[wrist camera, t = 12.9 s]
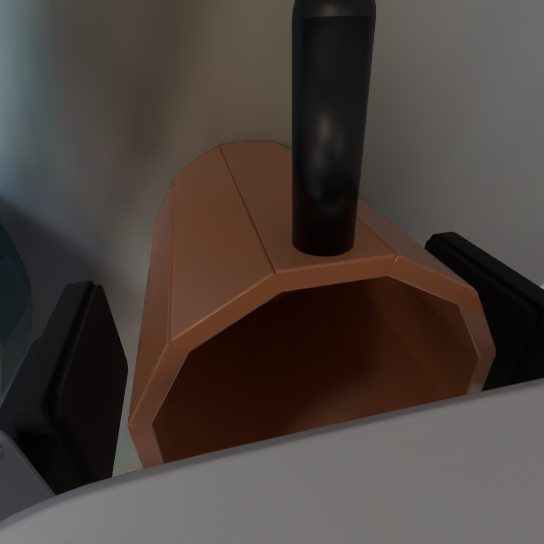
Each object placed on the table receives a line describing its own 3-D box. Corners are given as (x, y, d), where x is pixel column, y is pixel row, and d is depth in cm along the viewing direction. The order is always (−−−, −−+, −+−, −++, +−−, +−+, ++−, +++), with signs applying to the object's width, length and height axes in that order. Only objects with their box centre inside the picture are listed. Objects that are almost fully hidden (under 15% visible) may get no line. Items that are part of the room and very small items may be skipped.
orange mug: (330, 293, 17) (448, 478, 10) (175, 317, 16) (172, 550, 8) (347, 19, 12) (656, -46, 4) (113, 24, 10) (-54, -56, 3)
